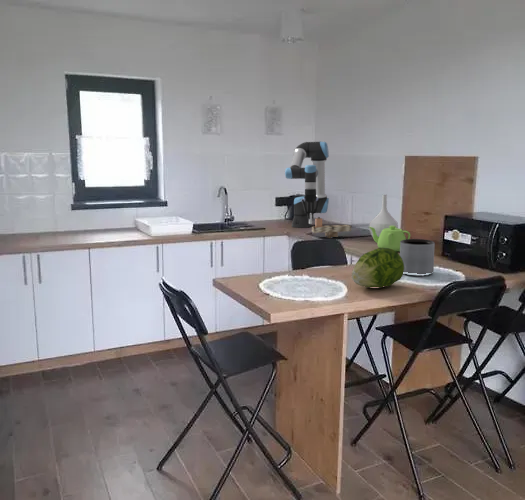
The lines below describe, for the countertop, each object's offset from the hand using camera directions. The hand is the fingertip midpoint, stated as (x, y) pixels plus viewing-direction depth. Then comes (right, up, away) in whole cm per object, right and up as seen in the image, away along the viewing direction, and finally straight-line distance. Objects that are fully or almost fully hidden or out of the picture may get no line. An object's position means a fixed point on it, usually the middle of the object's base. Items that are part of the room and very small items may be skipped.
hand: (310, 223), depth 350 cm
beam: (+15, -9, +5) cm, 18 cm away
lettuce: (+17, -34, -124) cm, 130 cm away
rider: (+6, -3, +2) cm, 7 cm away
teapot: (+43, -18, -41) cm, 62 cm away
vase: (+46, -12, -12) cm, 49 cm away
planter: (+42, -29, -99) cm, 112 cm away
